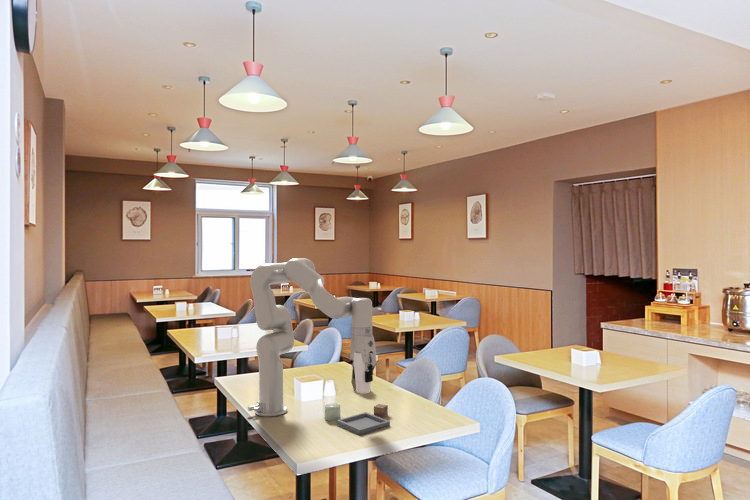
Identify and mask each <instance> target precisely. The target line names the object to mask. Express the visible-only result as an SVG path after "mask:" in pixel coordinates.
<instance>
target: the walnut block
mask: <svg viewBox="0 0 750 500" xmlns="http://www.w3.org/2000/svg"><path fill="white" fill-rule="evenodd" d="M388 407H389V406H388V405H387V404H383V403H382V404H381V403H378V404H376V405H374V406H373V415H375V416H377V417H380V418H383V419H385V417H387V416H388V414H389V411H388V409H389V408H388Z"/></svg>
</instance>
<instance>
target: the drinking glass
mask: <svg viewBox="0 0 750 500" xmlns="http://www.w3.org/2000/svg"><path fill="white" fill-rule="evenodd" d="M368 362H370V358H369V360H368ZM369 366H370V364H368V367H369ZM354 371H355V381H356V390H355V392H356V393H358V394H361V395H362V394H369V393H370V392H371V385H372V384H371V383H372V382H367V383H366V382H365V371H366V368H365V364H364V363H363V361H362V355H361V353H355V352H354Z"/></svg>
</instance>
